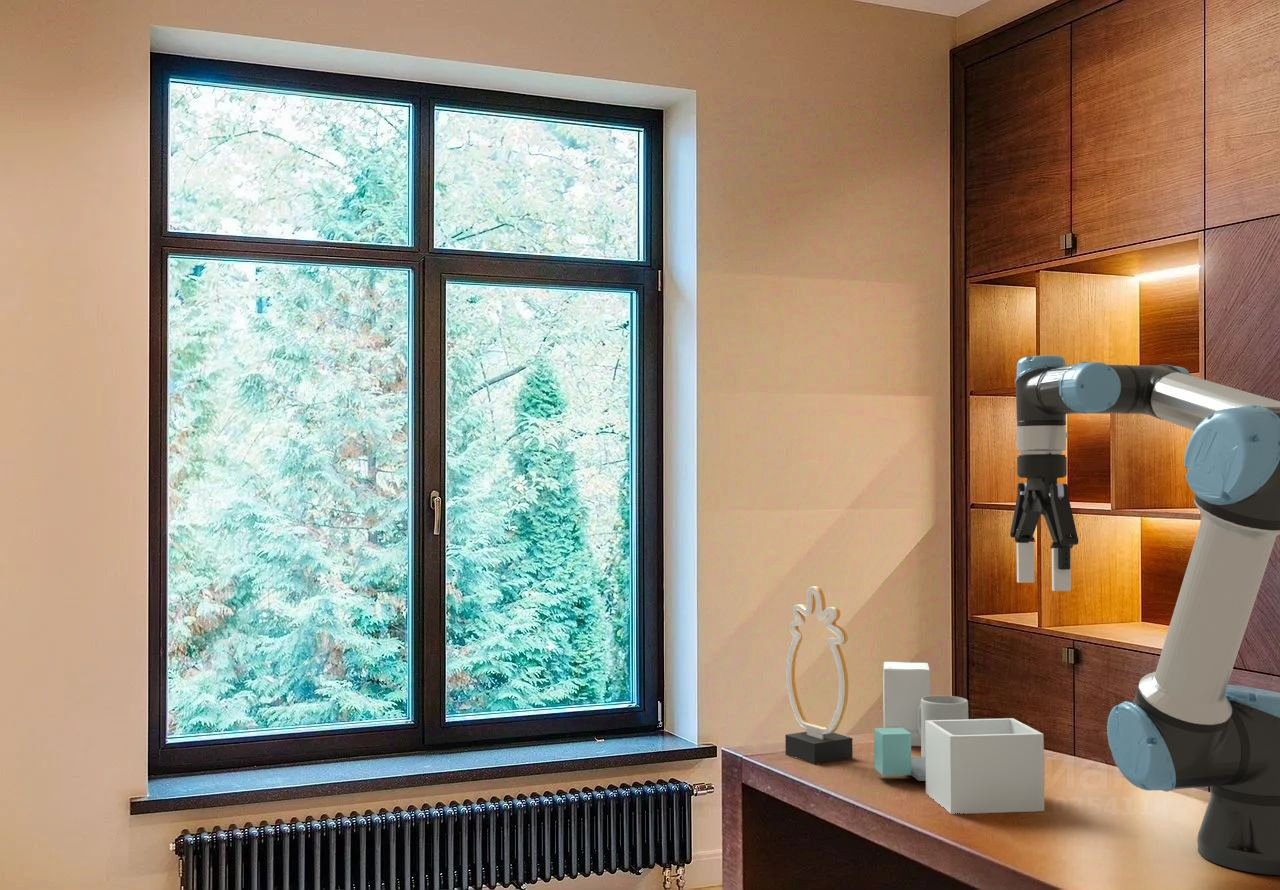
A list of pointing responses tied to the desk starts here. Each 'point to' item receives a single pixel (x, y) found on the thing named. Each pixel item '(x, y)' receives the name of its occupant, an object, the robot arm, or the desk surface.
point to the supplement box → (905, 695)
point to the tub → (984, 765)
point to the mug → (940, 712)
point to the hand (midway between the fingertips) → (1043, 586)
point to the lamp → (821, 740)
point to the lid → (896, 754)
